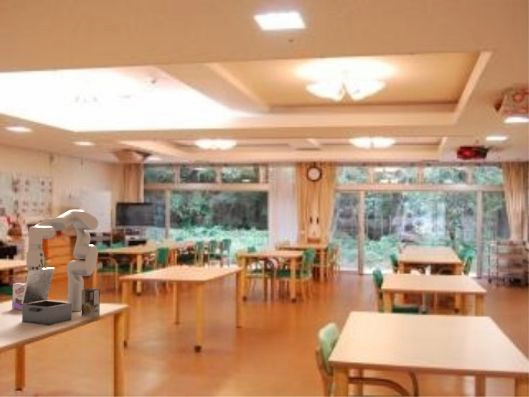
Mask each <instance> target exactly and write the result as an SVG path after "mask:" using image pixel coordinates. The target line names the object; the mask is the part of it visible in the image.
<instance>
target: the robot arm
mask: <svg viewBox="0 0 529 397" xmlns="http://www.w3.org/2000/svg"><path fill="white" fill-rule="evenodd" d="M70 226H73V227H74V229H75V232H76V236H77V237H76V241H75V244H74V249H73V257H74V258H75V259H74V260H70V261H69V262H67V266H66V273H67V282H68V283H67V303H72V312H82V290H84V289H85V287H84V286H85V284H84V283H85V281H84V278H83V276H84V277H88V276H91V275H92V274H93V272H94V271H95V267H96V263H97V259H98V255H99V250H98V247H97V246H96V245H95V244H90V243H91V235H90V234H91V233H90V232H89V231H95V230H96V229H98V226H99V220H98V219H97V217H95V216H94V215H92V214H91V213H90V212H87V211H85V210H83V209H69V210H67V211H66V212H63V213H62V214H60V215H59V216H56V217H52V218H50V219H47V220H43V221H41V222H38V223H37V224H35V225H34V226H30V227H29V228H28V247H27V248H28V249H27V254H26V259H25V260H26V268H27V269H29V270H34V269H43V268H44V267H45V253H44V249H43V247H44V246H43V239H45V240H46V239H52V238H54V237H55V235H56V232H58V231H62V230H65V229H67V228H69V227H70ZM79 259H80V260H79Z"/></svg>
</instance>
